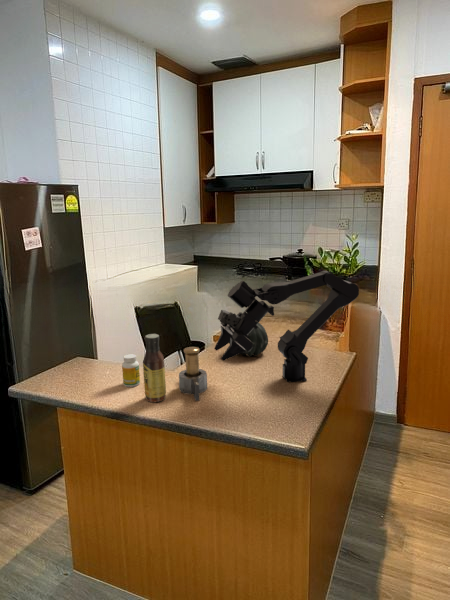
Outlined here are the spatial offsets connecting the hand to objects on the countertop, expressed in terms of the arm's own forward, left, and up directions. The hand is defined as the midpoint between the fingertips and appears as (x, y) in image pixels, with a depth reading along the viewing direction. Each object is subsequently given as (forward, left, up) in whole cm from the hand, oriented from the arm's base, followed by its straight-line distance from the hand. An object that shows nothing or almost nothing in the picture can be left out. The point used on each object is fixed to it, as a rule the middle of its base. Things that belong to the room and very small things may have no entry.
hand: (218, 354), depth 138 cm
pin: (+8, 0, -11) cm, 13 cm away
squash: (-15, -30, -11) cm, 35 cm away
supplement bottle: (+28, -7, -11) cm, 31 cm away
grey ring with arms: (+8, 0, -11) cm, 13 cm away
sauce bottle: (+20, +6, -11) cm, 23 cm away
